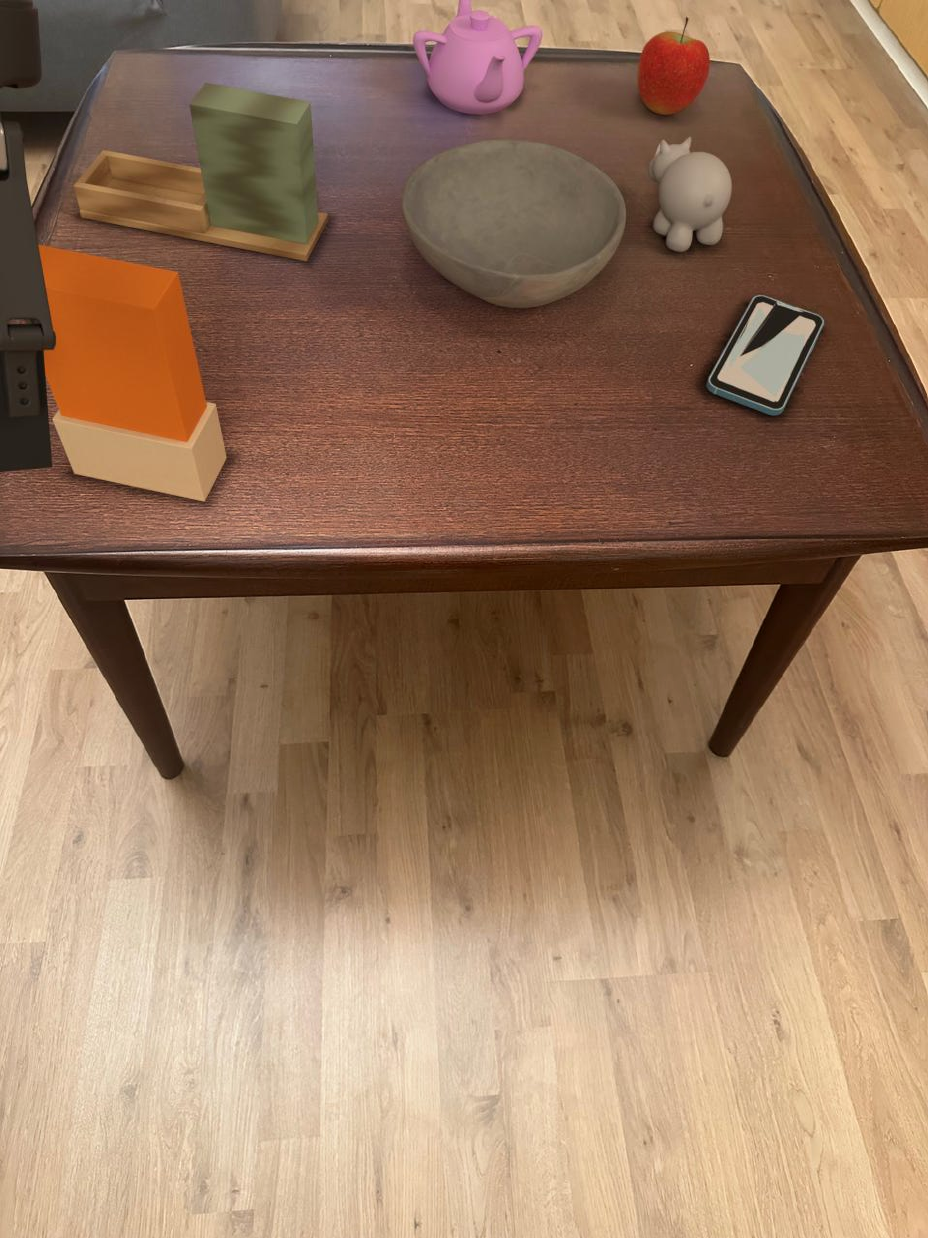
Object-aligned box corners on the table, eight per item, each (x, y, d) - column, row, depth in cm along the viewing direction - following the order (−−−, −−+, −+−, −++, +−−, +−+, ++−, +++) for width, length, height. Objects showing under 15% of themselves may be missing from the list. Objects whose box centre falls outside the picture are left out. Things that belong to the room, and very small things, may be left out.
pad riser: (74, 473, 76) (51, 419, 71) (100, 431, 78) (81, 375, 73) (204, 502, 75) (191, 448, 70) (227, 457, 78) (215, 403, 73)
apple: (618, 112, 113) (635, 21, 104) (648, 85, 117) (668, -4, 108) (678, 135, 110) (701, 45, 102) (707, 107, 114) (731, 18, 106)
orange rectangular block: (61, 415, 71) (7, 279, 61) (84, 380, 73) (36, 243, 63) (187, 442, 70) (154, 308, 60) (207, 406, 72) (178, 271, 62)
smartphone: (704, 383, 85) (755, 291, 93) (701, 391, 86) (752, 299, 94) (782, 413, 84) (827, 317, 91) (778, 421, 84) (824, 325, 92)
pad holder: (81, 217, 94) (41, 86, 84) (111, 178, 98) (77, 49, 88) (306, 261, 93) (296, 133, 82) (328, 220, 97) (320, 93, 86)
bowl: (654, 304, 92) (675, 231, 86) (475, 371, 85) (482, 297, 79) (534, 192, 102) (544, 118, 95) (364, 244, 95) (362, 168, 88)
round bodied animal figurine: (679, 186, 104) (700, 109, 97) (728, 251, 98) (754, 173, 91) (620, 194, 103) (637, 116, 96) (666, 260, 97) (687, 182, 90)
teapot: (458, 56, 118) (462, -23, 110) (551, 96, 114) (562, 16, 106) (400, 92, 112) (400, 11, 105) (495, 135, 108) (503, 54, 101)
